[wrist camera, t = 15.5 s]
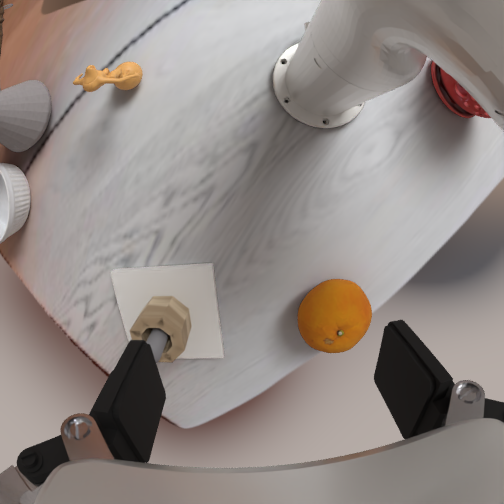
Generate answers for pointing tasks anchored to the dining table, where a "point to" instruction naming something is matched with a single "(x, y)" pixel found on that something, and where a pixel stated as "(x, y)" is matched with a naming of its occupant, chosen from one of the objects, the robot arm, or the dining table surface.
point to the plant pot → (455, 94)
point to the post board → (184, 290)
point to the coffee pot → (23, 110)
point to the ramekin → (13, 200)
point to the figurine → (111, 77)
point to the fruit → (334, 316)
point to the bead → (164, 324)
